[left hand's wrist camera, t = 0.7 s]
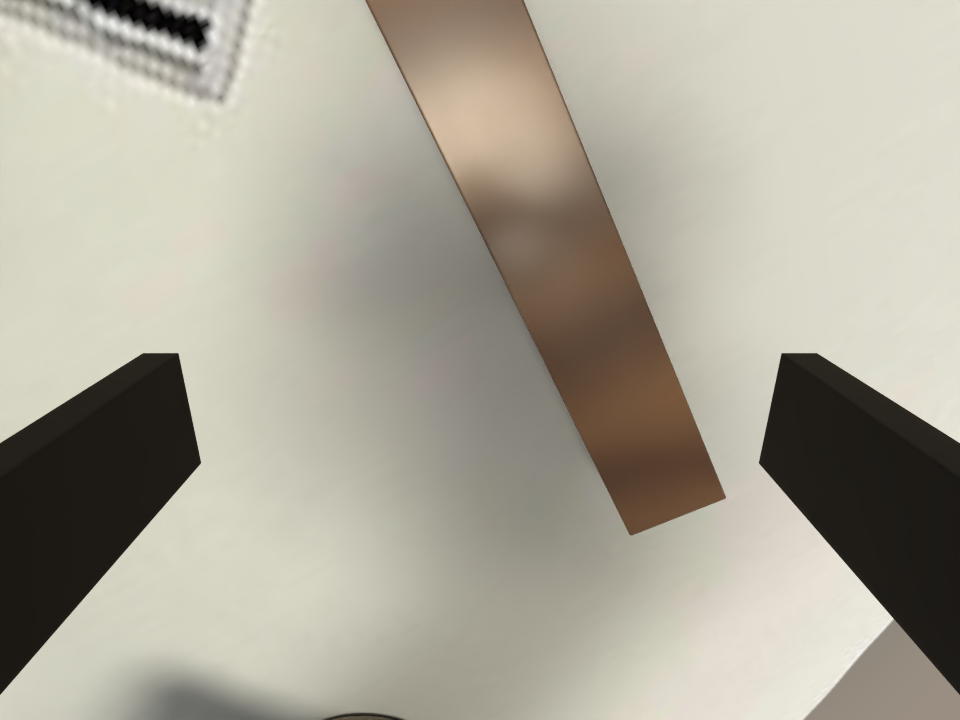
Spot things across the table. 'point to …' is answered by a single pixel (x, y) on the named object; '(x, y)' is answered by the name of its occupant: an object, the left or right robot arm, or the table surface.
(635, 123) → the table surface
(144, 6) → the table surface
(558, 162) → the bar
